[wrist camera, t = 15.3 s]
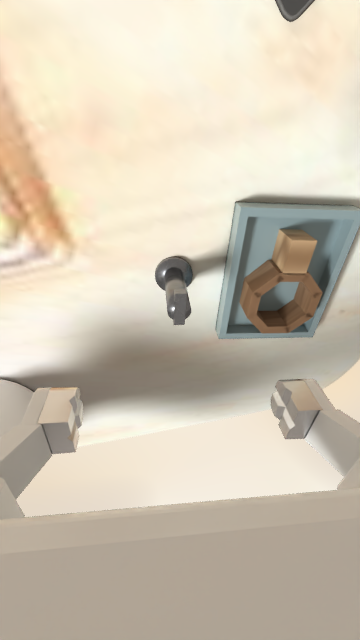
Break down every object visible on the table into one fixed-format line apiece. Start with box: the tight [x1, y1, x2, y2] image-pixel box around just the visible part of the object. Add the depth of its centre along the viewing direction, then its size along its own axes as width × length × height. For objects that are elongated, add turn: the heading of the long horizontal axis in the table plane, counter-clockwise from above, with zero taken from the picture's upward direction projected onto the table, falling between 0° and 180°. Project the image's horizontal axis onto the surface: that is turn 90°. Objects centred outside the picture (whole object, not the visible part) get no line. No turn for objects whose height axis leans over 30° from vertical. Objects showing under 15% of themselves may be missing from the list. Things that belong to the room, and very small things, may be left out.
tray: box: [216, 202, 360, 339], centre depth 38 cm, size 19×15×2 cm
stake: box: [155, 257, 192, 325], centre depth 34 cm, size 5×5×10 cm
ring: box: [239, 229, 323, 333], centre depth 37 cm, size 14×9×4 cm
